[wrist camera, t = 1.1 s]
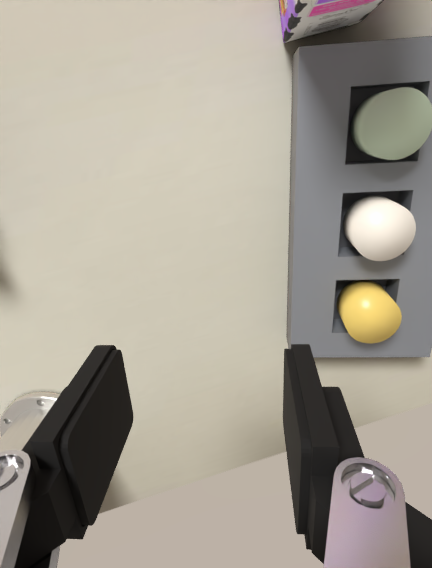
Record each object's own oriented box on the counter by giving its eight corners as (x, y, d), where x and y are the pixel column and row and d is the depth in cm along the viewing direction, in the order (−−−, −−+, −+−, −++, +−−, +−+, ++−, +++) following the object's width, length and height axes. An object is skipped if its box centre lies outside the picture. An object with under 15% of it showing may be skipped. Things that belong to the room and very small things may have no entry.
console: (412, 335, 35) (429, 357, 32) (286, 336, 36) (290, 357, 33) (465, 42, 26) (496, 30, 23) (292, 55, 27) (299, 46, 24)
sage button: (407, 154, 27) (427, 158, 24) (348, 157, 27) (360, 161, 24) (416, 89, 25) (439, 84, 22) (353, 93, 25) (367, 89, 22)
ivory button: (394, 246, 29) (410, 260, 26) (340, 248, 30) (350, 262, 27) (402, 193, 28) (420, 201, 25) (344, 196, 28) (356, 204, 25)
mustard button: (383, 323, 32) (397, 343, 29) (334, 324, 32) (343, 343, 30) (390, 279, 30) (405, 295, 28) (338, 280, 31) (347, 296, 28)
